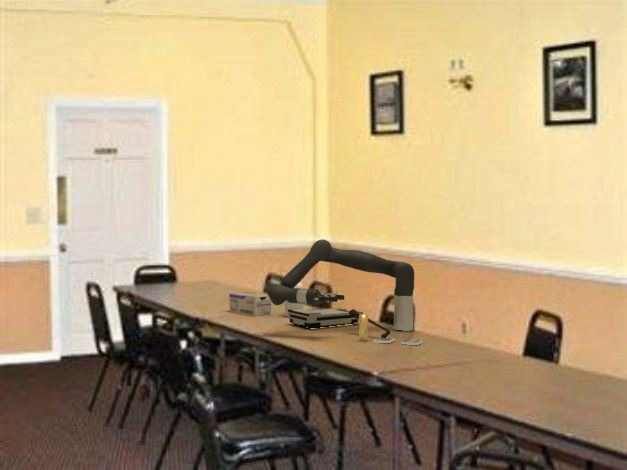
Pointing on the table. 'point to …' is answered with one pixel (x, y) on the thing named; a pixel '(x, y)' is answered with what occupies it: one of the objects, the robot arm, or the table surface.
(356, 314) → the wrench
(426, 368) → the table surface
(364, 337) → the link pin
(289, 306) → the jar
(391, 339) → the metal plates
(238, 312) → the surgical sutures box
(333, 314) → the game console
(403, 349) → the table surface
